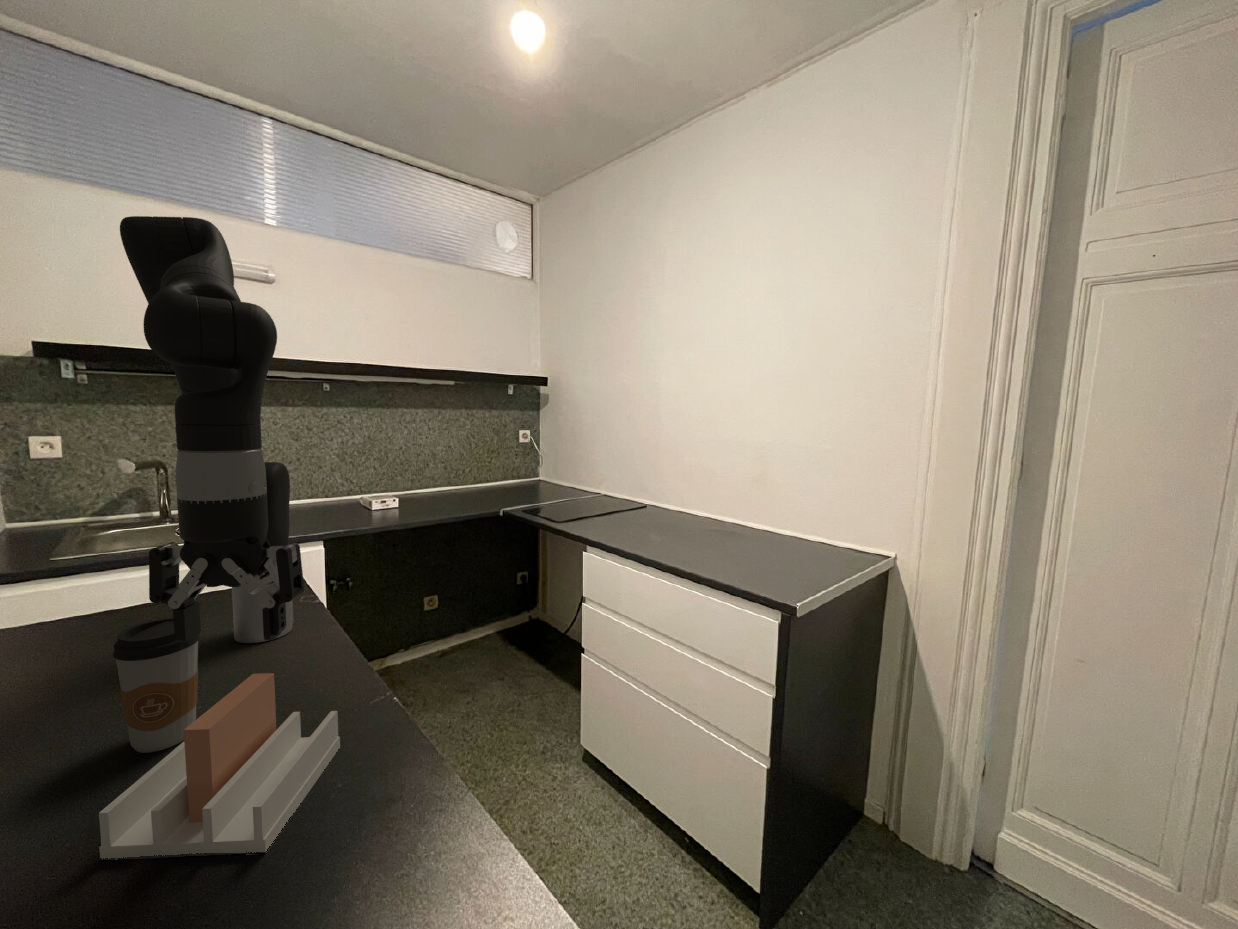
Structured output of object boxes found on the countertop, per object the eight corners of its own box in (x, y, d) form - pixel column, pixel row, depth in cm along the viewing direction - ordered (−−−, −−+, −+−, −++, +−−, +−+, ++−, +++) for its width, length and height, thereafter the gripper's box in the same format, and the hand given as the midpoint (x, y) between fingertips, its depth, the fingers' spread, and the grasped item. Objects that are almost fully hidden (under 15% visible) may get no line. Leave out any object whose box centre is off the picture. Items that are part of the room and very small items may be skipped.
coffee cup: (108, 767, 61) (98, 648, 60) (134, 728, 68) (126, 621, 67) (195, 748, 65) (189, 635, 63) (212, 713, 72) (206, 611, 71)
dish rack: (217, 751, 64) (215, 713, 64) (340, 747, 66) (339, 711, 65) (100, 861, 49) (96, 813, 48) (265, 853, 50) (263, 806, 49)
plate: (256, 750, 62) (253, 673, 61) (277, 750, 63) (274, 673, 62) (189, 822, 52) (183, 730, 51) (214, 821, 52) (209, 729, 51)
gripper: (312, 487, 58) (317, 623, 60) (178, 485, 57) (187, 624, 58) (273, 498, 51) (280, 653, 52) (119, 497, 49) (131, 655, 51)
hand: (231, 637), depth 55 cm, fingers open, 8 cm apart
